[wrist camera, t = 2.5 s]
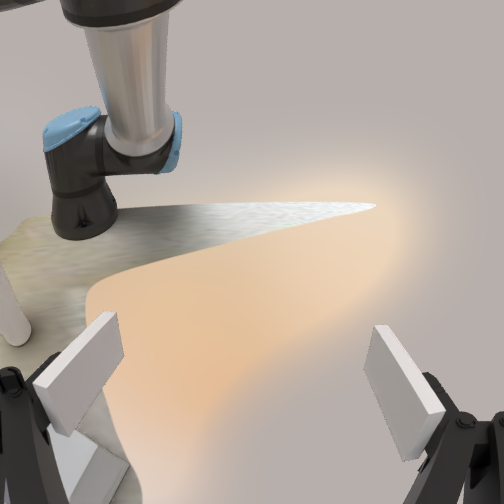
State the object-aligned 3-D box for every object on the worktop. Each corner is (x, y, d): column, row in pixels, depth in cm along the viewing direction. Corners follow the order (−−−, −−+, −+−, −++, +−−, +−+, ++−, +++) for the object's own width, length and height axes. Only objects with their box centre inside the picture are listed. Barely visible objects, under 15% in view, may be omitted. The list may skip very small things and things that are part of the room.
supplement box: (131, 464, 27) (101, 445, 19) (107, 508, 22) (66, 508, 13) (82, 433, 28) (40, 401, 20) (58, 475, 23) (6, 456, 15)
